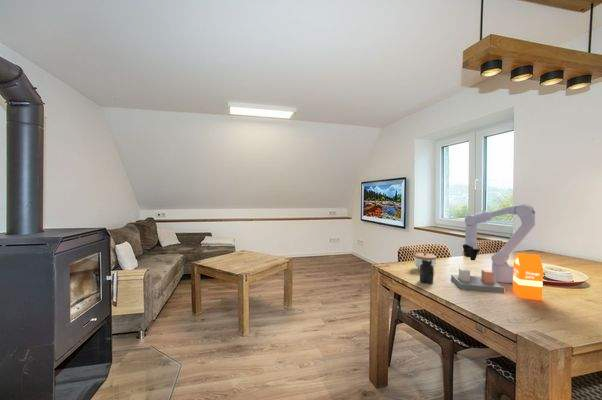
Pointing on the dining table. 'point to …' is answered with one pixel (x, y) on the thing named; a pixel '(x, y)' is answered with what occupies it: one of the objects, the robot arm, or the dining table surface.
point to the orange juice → (528, 276)
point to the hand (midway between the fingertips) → (470, 258)
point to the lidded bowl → (420, 256)
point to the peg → (487, 276)
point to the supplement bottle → (426, 271)
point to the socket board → (474, 282)
